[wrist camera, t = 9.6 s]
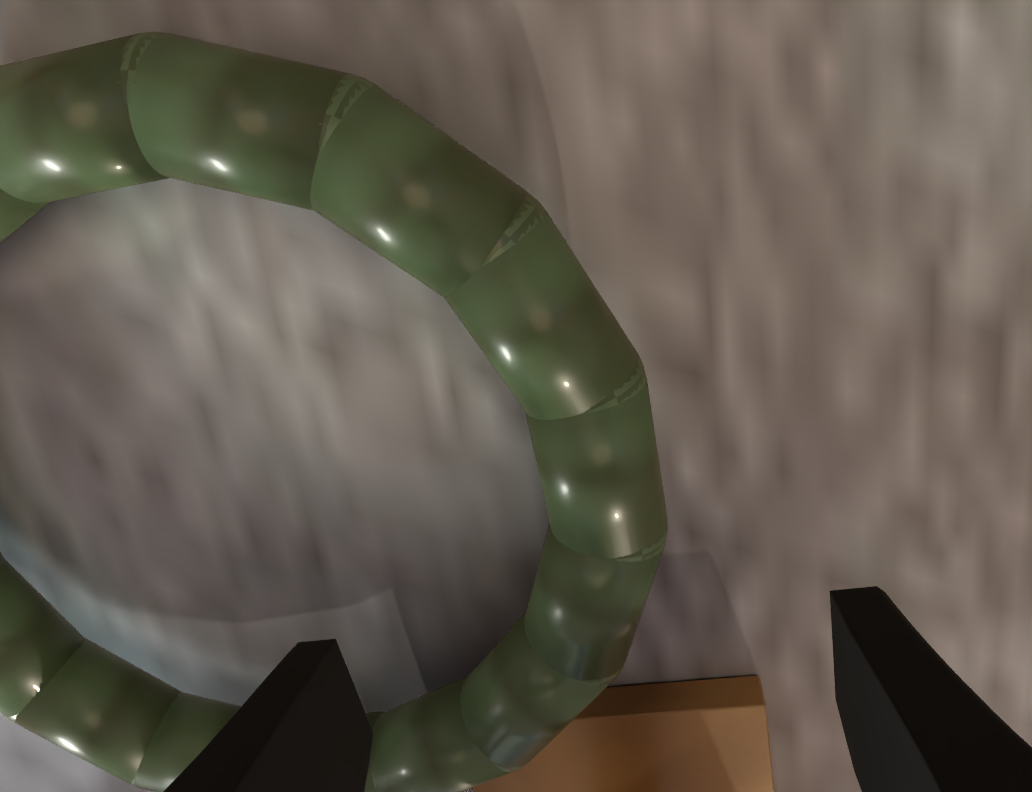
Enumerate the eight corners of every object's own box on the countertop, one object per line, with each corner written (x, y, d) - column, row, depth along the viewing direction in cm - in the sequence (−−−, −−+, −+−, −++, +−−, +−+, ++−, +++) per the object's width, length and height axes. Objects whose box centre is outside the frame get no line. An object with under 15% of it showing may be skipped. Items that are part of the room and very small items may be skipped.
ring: (68, 774, 25) (15, 848, 23) (-293, 139, 18) (-421, 160, 16) (702, 743, 22) (711, 827, 19) (584, -65, 14) (575, -76, 12)
